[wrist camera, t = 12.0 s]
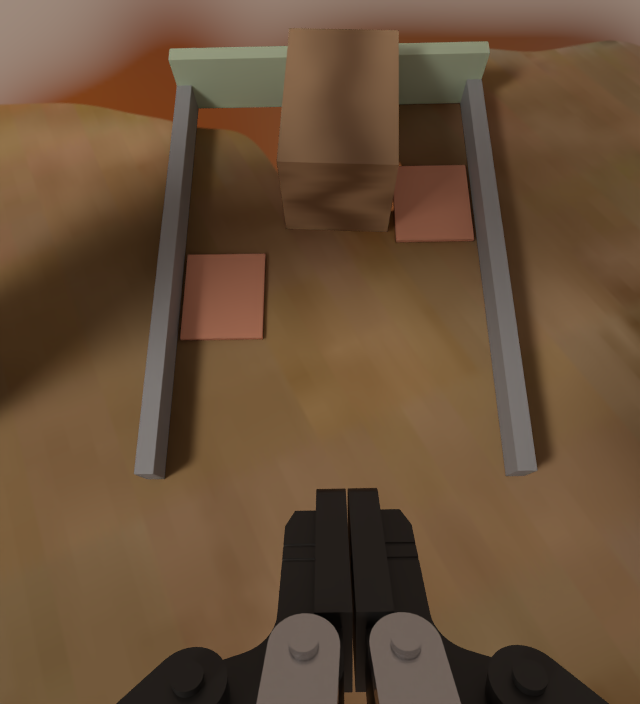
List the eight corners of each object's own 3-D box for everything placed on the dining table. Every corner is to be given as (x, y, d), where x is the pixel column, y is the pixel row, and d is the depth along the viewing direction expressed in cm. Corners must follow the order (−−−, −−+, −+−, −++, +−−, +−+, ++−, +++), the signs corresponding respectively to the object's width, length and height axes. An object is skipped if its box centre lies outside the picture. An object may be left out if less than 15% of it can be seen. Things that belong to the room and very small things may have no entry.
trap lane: (146, 479, 36) (119, 468, 32) (185, 98, 48) (170, 48, 43) (523, 475, 36) (552, 464, 31) (472, 91, 47) (488, 41, 43)
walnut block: (286, 229, 43) (276, 161, 36) (295, 111, 47) (289, 28, 40) (387, 232, 43) (398, 165, 35) (387, 113, 47) (398, 30, 39)
